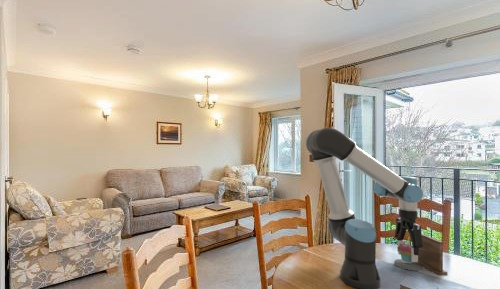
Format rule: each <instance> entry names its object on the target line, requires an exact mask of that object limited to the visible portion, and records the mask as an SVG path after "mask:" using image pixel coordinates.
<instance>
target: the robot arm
mask: <svg viewBox="0 0 500 289" xmlns="http://www.w3.org/2000/svg"><path fill="white" fill-rule="evenodd" d="M305 146H306V150H307V151H308V152H309V153H310V155H311V159H312V162H314V163H316V165H317V168H318V172H319V175H320V179H321V183H322V186H323V190H324V193H325V197H326V198H325V199H326V202H327V205H328V208H329V214H328V215H327V218H328V222H327V223H328V224H327V228H328V232H329V233H330V235H331V236H332V237H333V239H334V240H336V241H338V242H339V243H340V244H341V245H343V246H344V260H343V262H342V265H341V268H340V271H339V278H340V280H341V281H342V282H343V283H345V284H346V285H349V286H351V287H353V288H356V289H379V288H380V287H381V277H380V275H379V271H378V268H377V264H376V259H377V258H376V255H377V254H376V252H377V250H376V246H377V244H376V243H377V242H376V241H377V233H376V232H377V230H376V228H375V226H374V224H372V223H371V222H368V221H365V220H363V219H359V218H358V219H357V218H356V215H355V212H354V211H353V210H352V209H350V208H349V203H348V200H347V196H346V192H345V188H344V186H343V182H342V178H341V174H340V170H339V168H338V162H337V159H338V160H340V161H341V162H342V161H345V162H346V163H347V164H350V165H351V166H352V167H354V168H355V169H357V170H358V171H360V172H361V173H363V175H366V176H367V177H368V178H370V179H371V180H372V181H374V182H375V183H374V185H373V191H374V193H375V195H376V196H377V197H383V198H384V197H387V198H392V199H396V200H398V208H399V209H398V217H396V218H395V221H396V223H395V231H394V238H396V240H397V247H398V246H399V245H402V244H405V235H406V233H407V232H408V234H409V237H410V241H411V244H412V245H411V246H412V247H411V261H412V262H418V255H419V248H423V245H422V237H421V234H422V231H421V229H422V225H421V224H417V222H416V220H417V219H418V211H417V210H418V203H419V202H421V200H422V199H423V196H424V191H423V189H422V187H421V186H419V185H418V179H417V177H414V176H406V175H405V176H403V175H402V176H400V175H398V174H397V173H395V172H394V171H392V170H391V169H390V168H388V167H387V166H385V165H384V164H383V163H382V162H380V161H378V160H377V159H375V158H374V157H372V156H371V155H370V154H368V153H367V152H366V151H364V150H362V149H361V148H360V147H358V146H357V143H356V141H355V140H353V139H351V138H350V137H348V136H347V135H346V134H345V133H342V132H341V131H339V130H338V129H336V128H333V127H323V128H321V129H316V130H312V132H310V133H309V134H308V135H307V138H306V139H305ZM415 244H416V245H415ZM397 254H398V255H400V252H398V251H397Z"/></svg>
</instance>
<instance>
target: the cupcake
mask: <svg viewBox="0 0 500 289" xmlns="http://www.w3.org/2000/svg"><path fill="white" fill-rule="evenodd" d="M410 241H411V238H410V236H408V237H407V244H405V243H404V244H402V245H399V246H398V245H397V247H396V248H397V253H398V252H400V254H399V256H400V257H401V258H400V259H402V260H403V261H406V262H412V261H411V247H412V246H413V245H410Z"/></svg>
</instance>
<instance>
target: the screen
mask: <svg viewBox="0 0 500 289" xmlns="http://www.w3.org/2000/svg"><path fill="white" fill-rule="evenodd" d="M421 237H422V245H423V248H419V255H418V262H416V263H419V264H420V265H421V266H422V268H424V269H426V270H428V271H429V272H431V273H433V274H434V275H436V276H442V275H443V276H447V275H448V271H446V270H444V252H443V251H444V241H442V240H438V239H436V238H434V237H430V236H429V235H425V234H423V233H421ZM415 245H416V244H415Z"/></svg>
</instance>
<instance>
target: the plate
mask: <svg viewBox="0 0 500 289" xmlns="http://www.w3.org/2000/svg"><path fill="white" fill-rule="evenodd" d="M394 265H395V266H396V267H398V266H399V267H398V268H400V267H401V268H400V269H402V268H404V269H403V270H405V269H408V270H407V271H410V270H413V272H419V271H422V268H423V267H422V266H421V265H420V264H419V263H416V262H406V261H403V260H402V258H397V259H394Z"/></svg>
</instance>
